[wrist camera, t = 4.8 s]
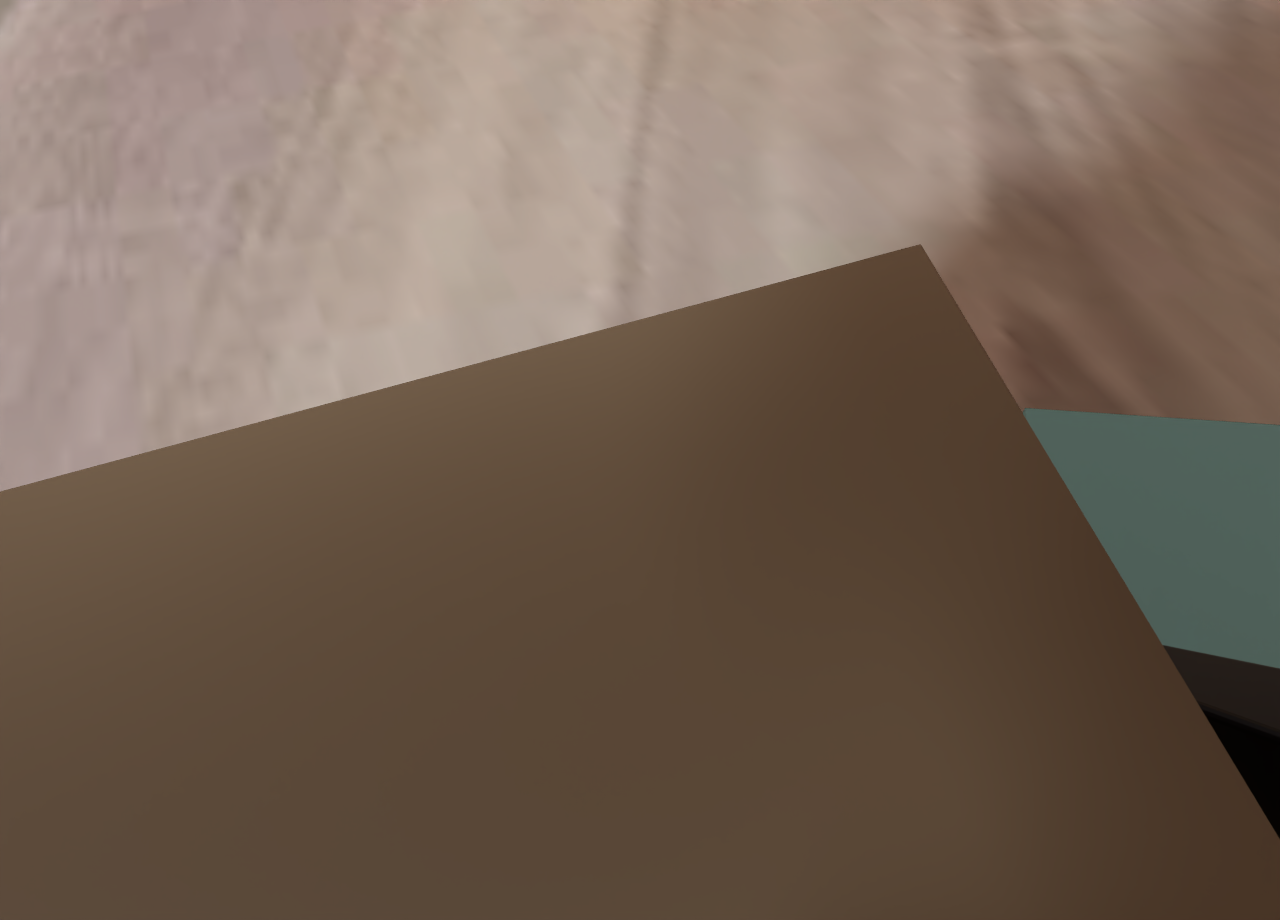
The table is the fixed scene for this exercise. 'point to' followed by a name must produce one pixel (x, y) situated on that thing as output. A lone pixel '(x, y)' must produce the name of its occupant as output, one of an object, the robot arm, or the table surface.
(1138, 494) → the teal base block
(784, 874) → the walnut block
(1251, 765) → the robot arm
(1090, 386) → the table surface
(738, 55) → the table surface
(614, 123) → the table surface
